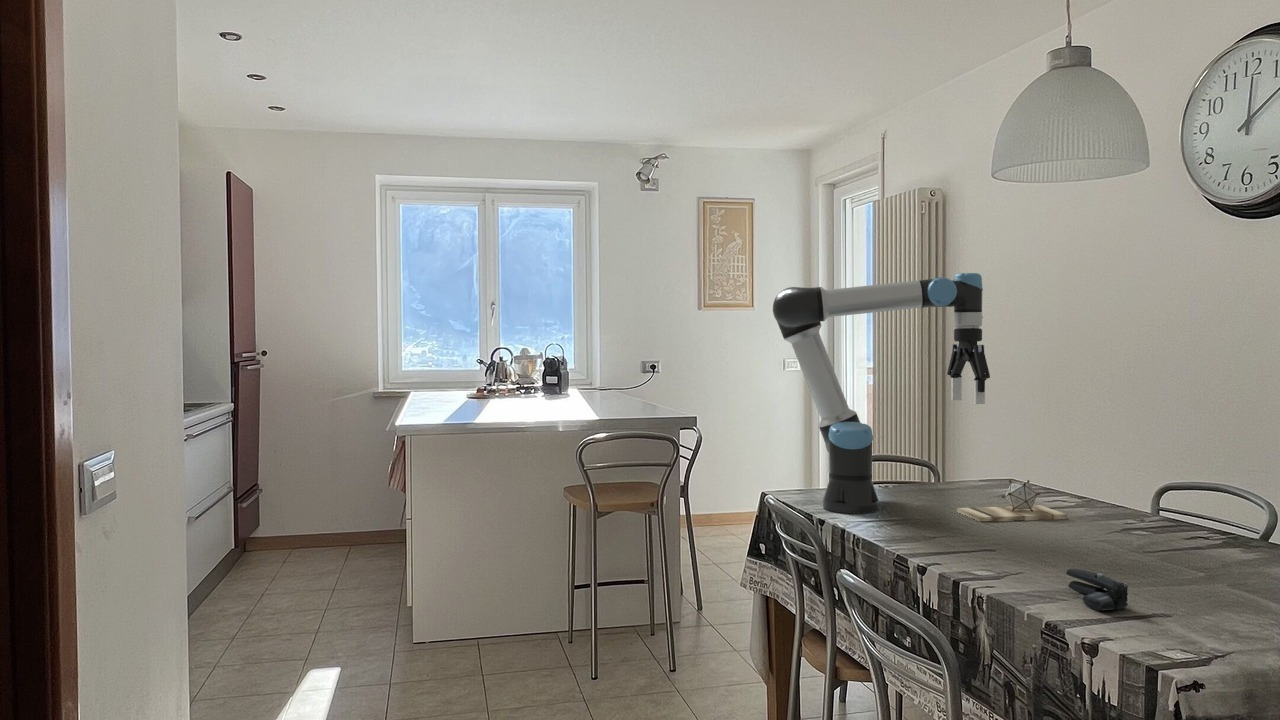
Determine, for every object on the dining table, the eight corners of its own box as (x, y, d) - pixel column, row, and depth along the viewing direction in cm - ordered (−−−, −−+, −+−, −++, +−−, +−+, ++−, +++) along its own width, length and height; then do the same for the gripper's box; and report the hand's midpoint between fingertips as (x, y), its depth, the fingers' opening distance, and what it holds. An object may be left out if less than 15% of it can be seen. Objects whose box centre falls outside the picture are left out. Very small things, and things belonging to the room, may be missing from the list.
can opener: (1139, 616, 149) (1139, 584, 149) (1098, 616, 149) (1098, 583, 149) (1089, 586, 167) (1090, 557, 167) (1052, 586, 167) (1053, 557, 167)
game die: (1012, 524, 231) (988, 492, 234) (1034, 510, 234) (1010, 478, 237) (1031, 513, 223) (1007, 480, 226) (1053, 499, 226) (1029, 466, 229)
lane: (979, 522, 222) (979, 517, 222) (957, 512, 234) (957, 508, 234) (1067, 518, 225) (1067, 514, 225) (1040, 509, 237) (1040, 505, 237)
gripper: (1003, 327, 235) (1003, 405, 236) (959, 327, 260) (959, 398, 261) (977, 327, 234) (976, 405, 235) (935, 328, 259) (935, 398, 260)
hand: (967, 402), depth 248 cm, fingers open, 13 cm apart
